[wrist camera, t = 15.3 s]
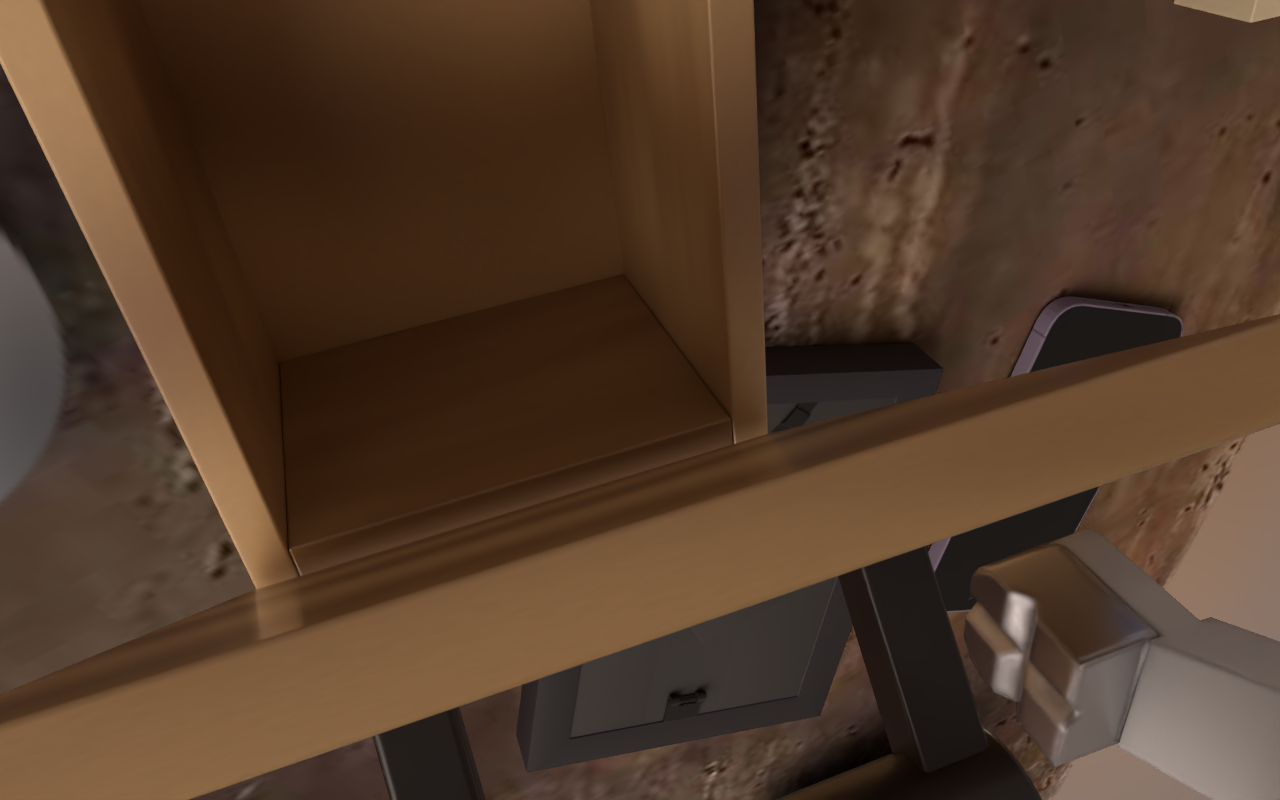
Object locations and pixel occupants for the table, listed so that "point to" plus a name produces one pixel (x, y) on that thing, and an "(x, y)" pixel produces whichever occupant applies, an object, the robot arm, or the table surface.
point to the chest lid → (641, 591)
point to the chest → (414, 244)
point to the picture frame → (742, 640)
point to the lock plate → (1236, 8)
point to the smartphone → (1053, 341)
